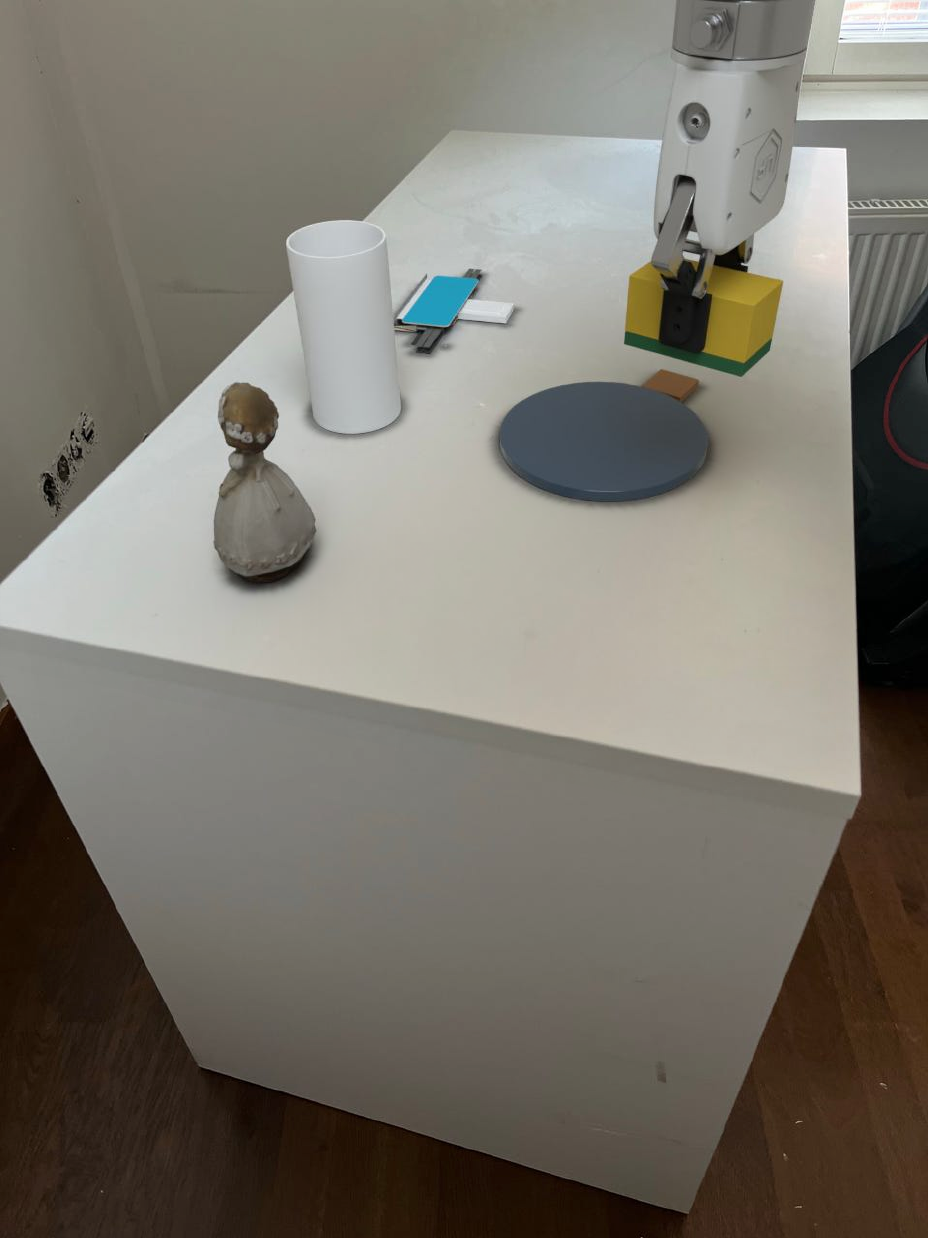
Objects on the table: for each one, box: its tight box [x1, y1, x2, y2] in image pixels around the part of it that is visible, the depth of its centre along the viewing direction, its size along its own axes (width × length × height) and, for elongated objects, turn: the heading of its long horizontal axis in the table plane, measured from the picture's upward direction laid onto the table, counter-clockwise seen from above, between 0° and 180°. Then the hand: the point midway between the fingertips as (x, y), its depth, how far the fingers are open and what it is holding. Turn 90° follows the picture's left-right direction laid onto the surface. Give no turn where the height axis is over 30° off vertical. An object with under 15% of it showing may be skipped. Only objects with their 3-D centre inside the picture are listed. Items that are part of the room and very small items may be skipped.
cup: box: [285, 219, 402, 435], centre depth 82 cm, size 8×8×16 cm
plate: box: [499, 381, 709, 502], centre depth 82 cm, size 18×18×1 cm
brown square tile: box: [641, 368, 700, 403], centre depth 88 cm, size 4×4×1 cm
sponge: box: [623, 258, 784, 378], centre depth 64 cm, size 5×9×5 cm, turn 53°
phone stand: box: [393, 268, 515, 354], centre depth 102 cm, size 20×12×2 cm, turn 164°
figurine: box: [213, 381, 318, 584], centre depth 66 cm, size 8×7×15 cm
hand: (699, 329), depth 65 cm, fingers closed on sponge, 4 cm apart
